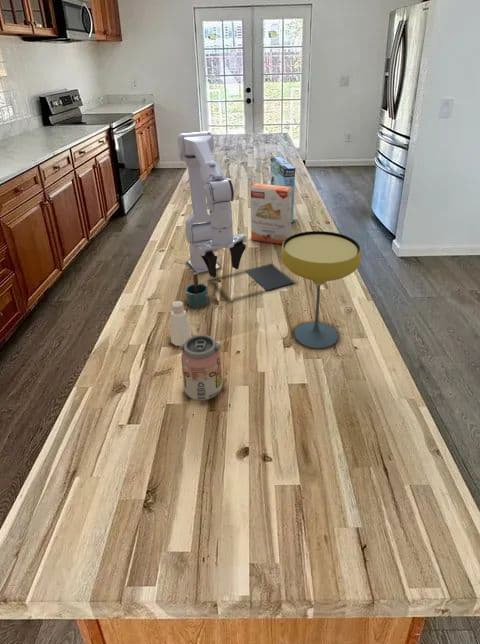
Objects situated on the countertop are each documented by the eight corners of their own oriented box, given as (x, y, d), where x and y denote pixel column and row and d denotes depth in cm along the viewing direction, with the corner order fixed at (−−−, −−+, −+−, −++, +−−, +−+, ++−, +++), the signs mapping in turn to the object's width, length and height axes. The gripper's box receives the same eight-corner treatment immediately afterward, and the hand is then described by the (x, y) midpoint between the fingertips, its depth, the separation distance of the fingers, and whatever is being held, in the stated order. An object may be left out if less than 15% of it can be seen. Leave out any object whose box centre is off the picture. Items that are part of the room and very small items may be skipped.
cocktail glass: (364, 353, 103) (375, 259, 93) (290, 362, 101) (293, 267, 90) (337, 311, 120) (344, 227, 109) (273, 319, 117) (273, 233, 106)
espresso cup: (183, 300, 127) (182, 286, 125) (203, 294, 129) (202, 281, 127) (191, 310, 122) (189, 296, 120) (211, 304, 124) (210, 291, 122)
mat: (210, 280, 137) (210, 279, 137) (271, 265, 145) (271, 264, 145) (228, 301, 126) (228, 300, 125) (293, 283, 134) (293, 282, 134)
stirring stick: (194, 300, 126) (192, 273, 122) (198, 299, 126) (196, 271, 122) (196, 302, 125) (193, 274, 121) (200, 301, 125) (198, 273, 121)
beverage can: (187, 372, 99) (183, 328, 94) (224, 372, 99) (222, 328, 93) (181, 402, 91) (175, 356, 85) (221, 403, 90) (218, 357, 85)
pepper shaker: (168, 337, 111) (163, 300, 106) (188, 332, 113) (185, 295, 108) (173, 349, 106) (169, 311, 102) (194, 343, 108) (191, 306, 103)
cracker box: (250, 240, 164) (249, 187, 155) (256, 234, 169) (255, 182, 160) (286, 245, 159) (287, 190, 150) (291, 239, 164) (292, 185, 155)
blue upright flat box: (269, 208, 196) (269, 157, 186) (280, 206, 197) (281, 156, 187) (282, 223, 179) (283, 168, 169) (294, 222, 180) (295, 167, 170)
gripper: (206, 236, 108) (210, 285, 113) (252, 222, 116) (253, 268, 121) (191, 229, 113) (196, 276, 118) (236, 216, 121) (238, 261, 126)
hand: (224, 272), depth 120 cm, fingers open, 7 cm apart
